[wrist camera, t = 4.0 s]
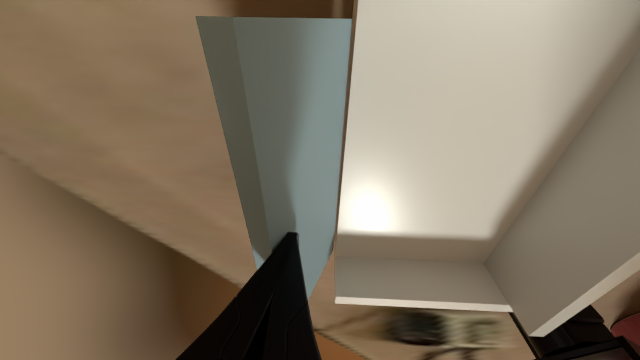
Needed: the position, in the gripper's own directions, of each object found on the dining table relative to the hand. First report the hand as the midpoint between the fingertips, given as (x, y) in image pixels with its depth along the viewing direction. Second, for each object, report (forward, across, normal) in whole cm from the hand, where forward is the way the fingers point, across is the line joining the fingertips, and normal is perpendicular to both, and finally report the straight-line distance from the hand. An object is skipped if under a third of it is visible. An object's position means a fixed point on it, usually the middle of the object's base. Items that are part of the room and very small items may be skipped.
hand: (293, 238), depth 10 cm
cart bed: (+9, -9, 0) cm, 12 cm away
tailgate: (+6, -2, 0) cm, 6 cm away
